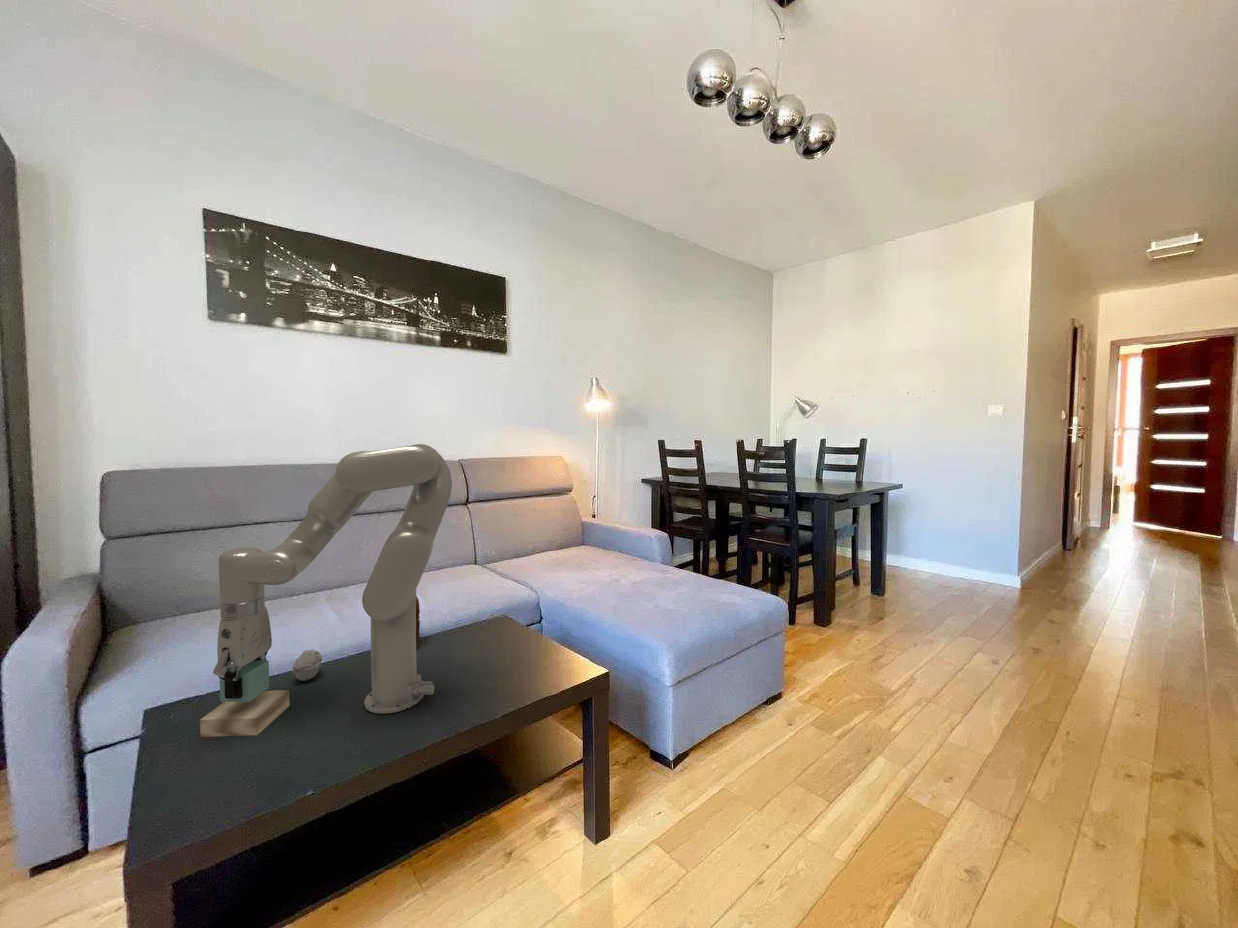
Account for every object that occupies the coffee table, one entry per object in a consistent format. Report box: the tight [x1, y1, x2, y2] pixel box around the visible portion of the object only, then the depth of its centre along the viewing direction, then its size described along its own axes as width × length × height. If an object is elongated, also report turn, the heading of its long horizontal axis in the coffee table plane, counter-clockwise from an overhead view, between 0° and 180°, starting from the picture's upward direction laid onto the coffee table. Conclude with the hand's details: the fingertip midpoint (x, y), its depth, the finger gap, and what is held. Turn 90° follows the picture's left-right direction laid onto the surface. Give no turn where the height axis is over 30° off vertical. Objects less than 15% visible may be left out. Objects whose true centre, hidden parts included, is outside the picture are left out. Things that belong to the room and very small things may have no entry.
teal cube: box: [219, 660, 270, 703], centre depth 105 cm, size 6×6×6 cm
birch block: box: [199, 689, 290, 738], centre depth 106 cm, size 11×11×4 cm
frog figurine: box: [291, 649, 323, 682], centre depth 124 cm, size 6×7×7 cm
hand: (245, 688), depth 106 cm, fingers closed on teal cube, 6 cm apart
